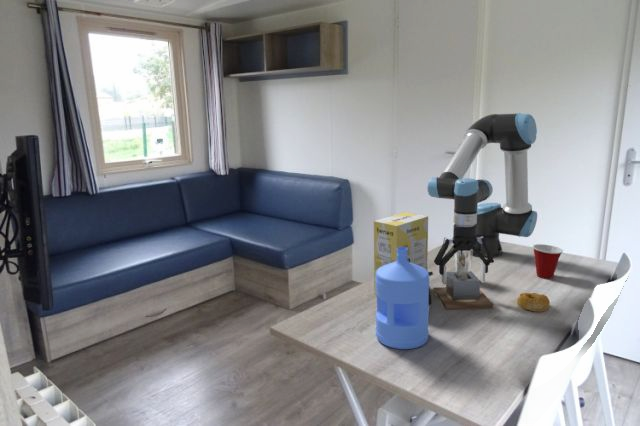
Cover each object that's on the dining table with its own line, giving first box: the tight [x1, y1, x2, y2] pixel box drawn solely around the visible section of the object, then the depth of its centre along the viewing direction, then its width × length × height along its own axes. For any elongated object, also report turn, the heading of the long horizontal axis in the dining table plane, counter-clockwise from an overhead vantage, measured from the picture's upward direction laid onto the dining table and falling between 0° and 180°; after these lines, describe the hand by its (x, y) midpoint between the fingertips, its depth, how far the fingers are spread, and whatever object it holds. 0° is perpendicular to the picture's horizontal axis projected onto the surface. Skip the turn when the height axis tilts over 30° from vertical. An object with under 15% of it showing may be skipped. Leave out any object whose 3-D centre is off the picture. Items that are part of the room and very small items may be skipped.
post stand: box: [433, 272, 494, 311], centre depth 157 cm, size 16×16×10 cm
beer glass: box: [453, 249, 474, 272], centre depth 175 cm, size 7×7×15 cm
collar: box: [445, 271, 481, 301], centre depth 158 cm, size 9×9×7 cm
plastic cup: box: [532, 243, 564, 280], centre depth 175 cm, size 11×11×12 cm
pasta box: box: [373, 211, 429, 295], centre depth 165 cm, size 18×10×28 cm, turn 131°
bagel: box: [516, 292, 551, 313], centre depth 151 cm, size 10×11×5 cm
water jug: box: [375, 247, 430, 350], centre depth 131 cm, size 16×16×28 cm
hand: (463, 282), depth 157 cm, fingers open, 13 cm apart
